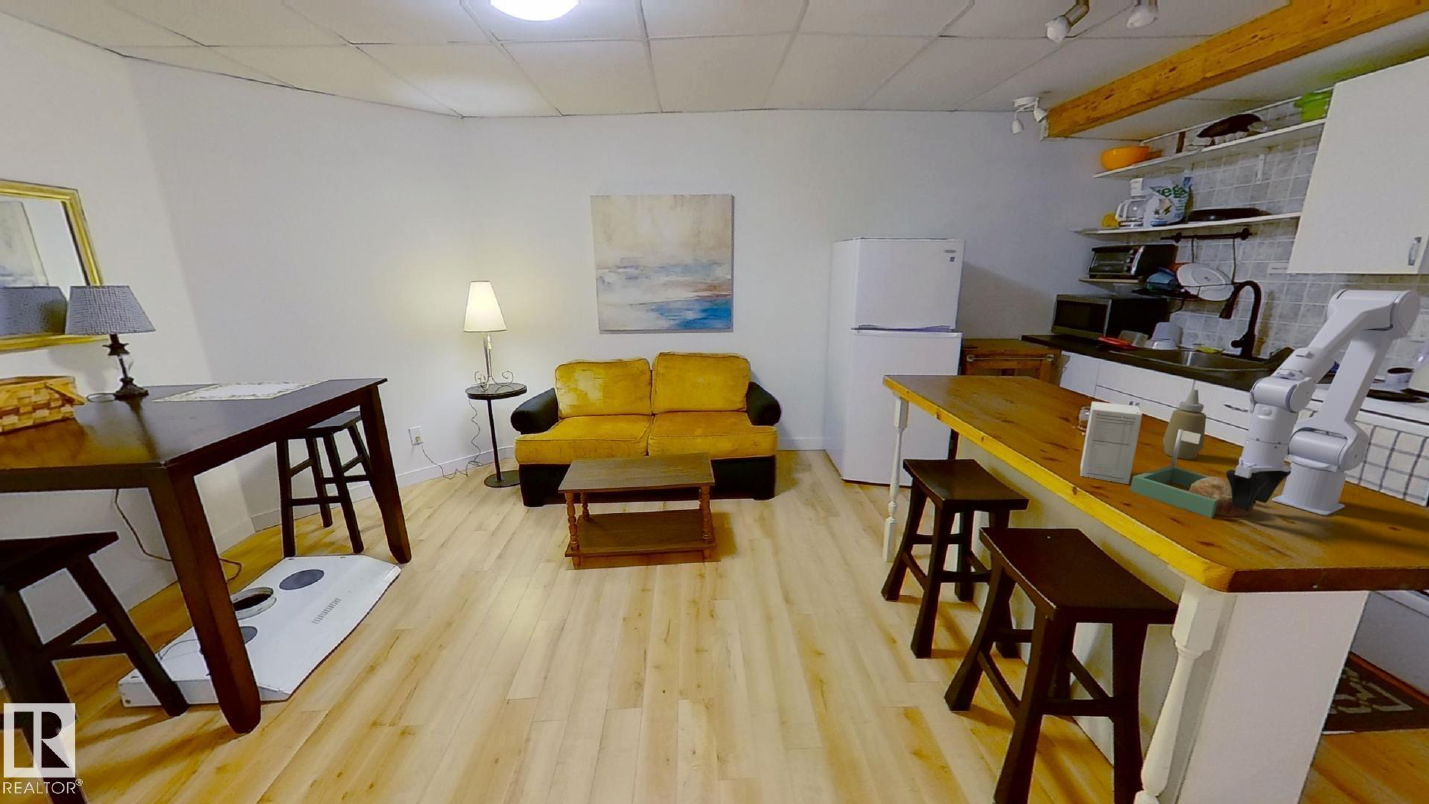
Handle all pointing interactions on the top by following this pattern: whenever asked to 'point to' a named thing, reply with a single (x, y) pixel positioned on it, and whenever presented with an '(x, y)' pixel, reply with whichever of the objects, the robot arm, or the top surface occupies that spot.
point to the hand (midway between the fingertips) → (1249, 504)
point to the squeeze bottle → (1186, 427)
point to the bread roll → (1219, 495)
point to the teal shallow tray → (1156, 480)
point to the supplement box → (1110, 442)
